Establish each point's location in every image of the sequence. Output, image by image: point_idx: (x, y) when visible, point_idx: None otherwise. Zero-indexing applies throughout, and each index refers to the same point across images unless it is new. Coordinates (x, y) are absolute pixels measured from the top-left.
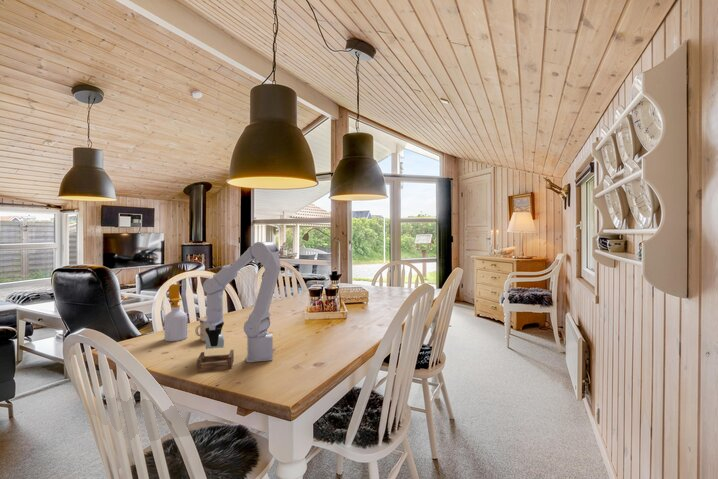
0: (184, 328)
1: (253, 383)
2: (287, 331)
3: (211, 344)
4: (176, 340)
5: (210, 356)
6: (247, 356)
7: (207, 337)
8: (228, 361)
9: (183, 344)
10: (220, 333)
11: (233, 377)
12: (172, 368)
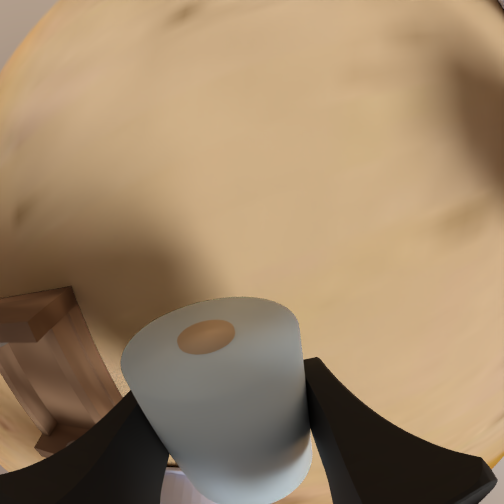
0: None
1: (18, 449)
2: (477, 453)
3: (131, 396)
4: (501, 3)
5: (59, 365)
6: (164, 477)
7: (146, 407)
8: (42, 435)
9: (472, 30)
10: (327, 473)
11: (16, 420)
12: (7, 138)
